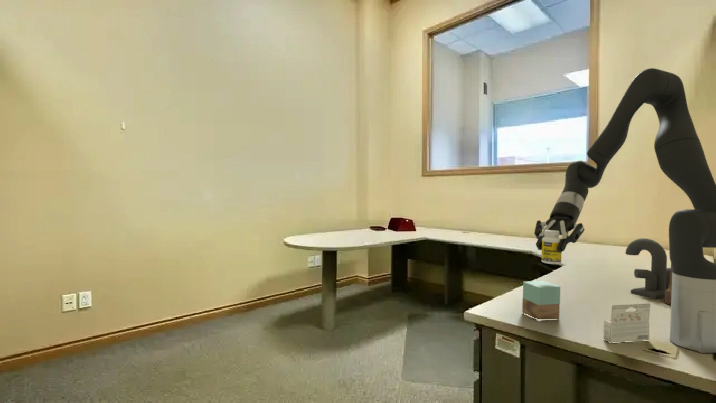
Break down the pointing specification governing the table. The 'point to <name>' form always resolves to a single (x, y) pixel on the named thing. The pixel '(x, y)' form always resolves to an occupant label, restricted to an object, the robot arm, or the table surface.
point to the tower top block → (541, 292)
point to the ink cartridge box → (628, 323)
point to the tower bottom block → (541, 310)
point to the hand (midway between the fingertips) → (548, 249)
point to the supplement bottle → (550, 247)
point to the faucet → (659, 273)
